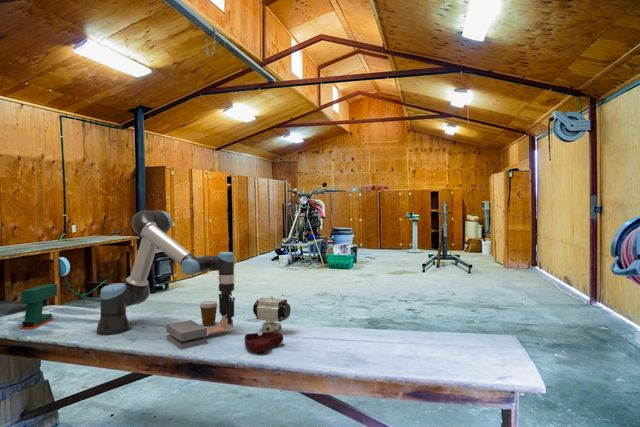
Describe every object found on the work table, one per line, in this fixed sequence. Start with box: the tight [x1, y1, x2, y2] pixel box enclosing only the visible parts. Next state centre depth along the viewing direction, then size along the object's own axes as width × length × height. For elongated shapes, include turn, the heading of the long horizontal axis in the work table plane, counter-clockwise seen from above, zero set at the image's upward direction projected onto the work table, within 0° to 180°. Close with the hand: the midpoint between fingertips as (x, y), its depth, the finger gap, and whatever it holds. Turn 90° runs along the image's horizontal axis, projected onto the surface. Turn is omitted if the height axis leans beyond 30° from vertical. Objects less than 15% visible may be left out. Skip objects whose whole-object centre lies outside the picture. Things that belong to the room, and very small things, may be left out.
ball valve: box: [252, 295, 292, 333], centre depth 200 cm, size 18×8×18 cm, turn 67°
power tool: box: [20, 283, 60, 330], centre depth 225 cm, size 32×7×20 cm, turn 6°
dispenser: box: [165, 319, 210, 350], centre depth 187 cm, size 13×19×7 cm
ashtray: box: [244, 331, 284, 355], centre depth 177 cm, size 18×16×5 cm
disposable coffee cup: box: [199, 300, 219, 327], centre depth 214 cm, size 10×10×12 cm
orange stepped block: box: [206, 319, 234, 335], centre depth 195 cm, size 18×7×4 cm, turn 130°
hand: (226, 329), depth 199 cm, fingers closed on orange stepped block, 4 cm apart
